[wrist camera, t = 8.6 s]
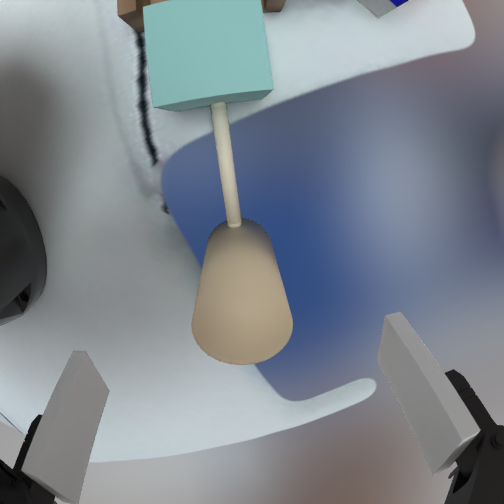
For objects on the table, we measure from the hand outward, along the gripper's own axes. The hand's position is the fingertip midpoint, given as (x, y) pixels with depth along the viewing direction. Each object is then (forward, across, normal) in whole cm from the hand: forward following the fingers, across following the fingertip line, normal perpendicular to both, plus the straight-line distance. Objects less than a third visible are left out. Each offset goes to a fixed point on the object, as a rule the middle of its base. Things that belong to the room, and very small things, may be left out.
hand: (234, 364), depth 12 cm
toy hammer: (+13, +1, +7) cm, 14 cm away
